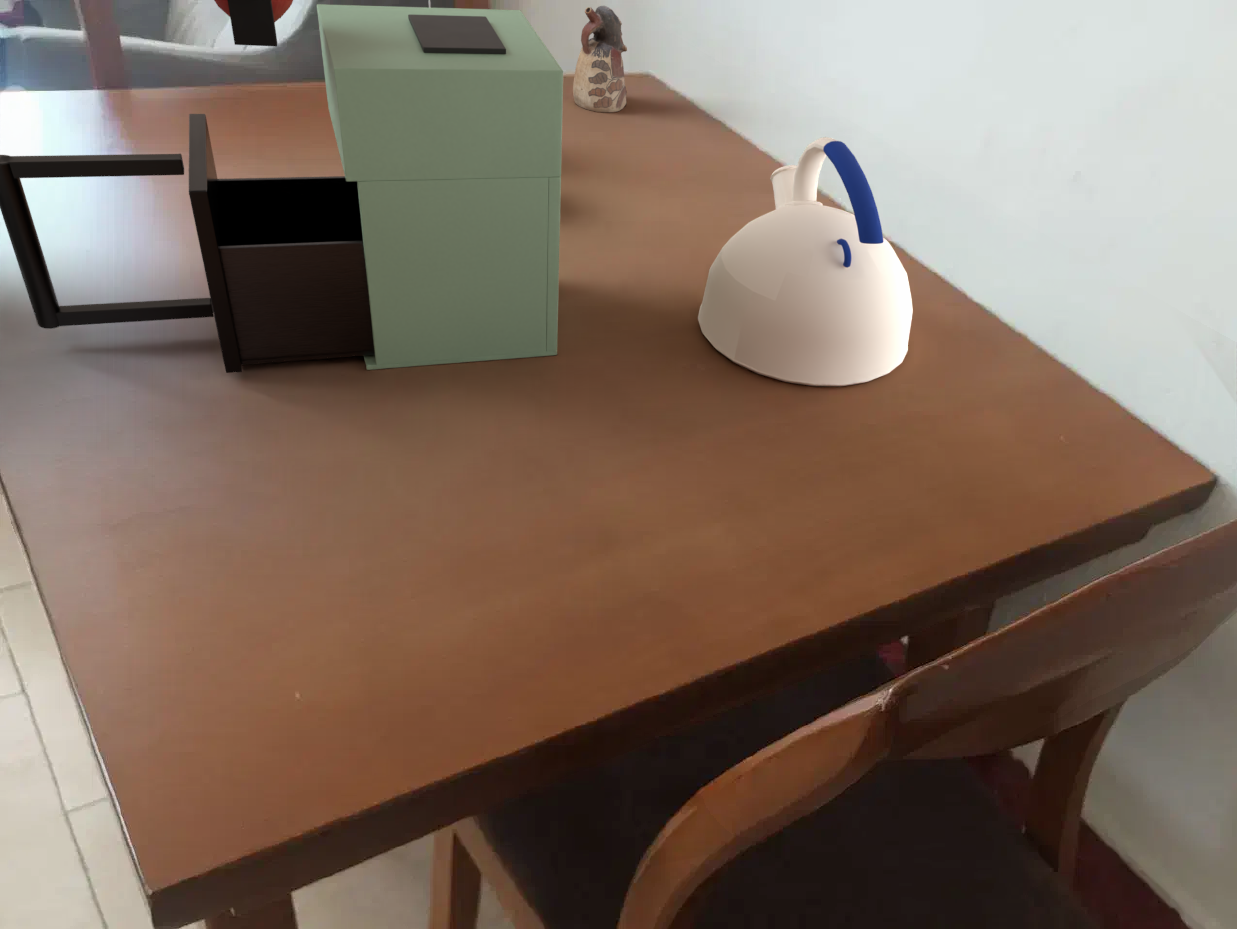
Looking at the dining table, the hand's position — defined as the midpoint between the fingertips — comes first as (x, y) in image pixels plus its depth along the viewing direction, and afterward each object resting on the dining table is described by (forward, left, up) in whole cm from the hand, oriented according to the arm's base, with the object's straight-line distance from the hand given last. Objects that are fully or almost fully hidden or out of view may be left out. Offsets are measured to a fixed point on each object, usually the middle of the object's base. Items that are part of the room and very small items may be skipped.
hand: (258, 28), depth 77 cm
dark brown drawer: (-5, -3, -24) cm, 24 cm away
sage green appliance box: (+10, +7, -24) cm, 27 cm away
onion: (0, 0, 0) cm, 0 cm away
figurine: (+2, +68, -25) cm, 73 cm away
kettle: (+40, +20, -25) cm, 51 cm away
